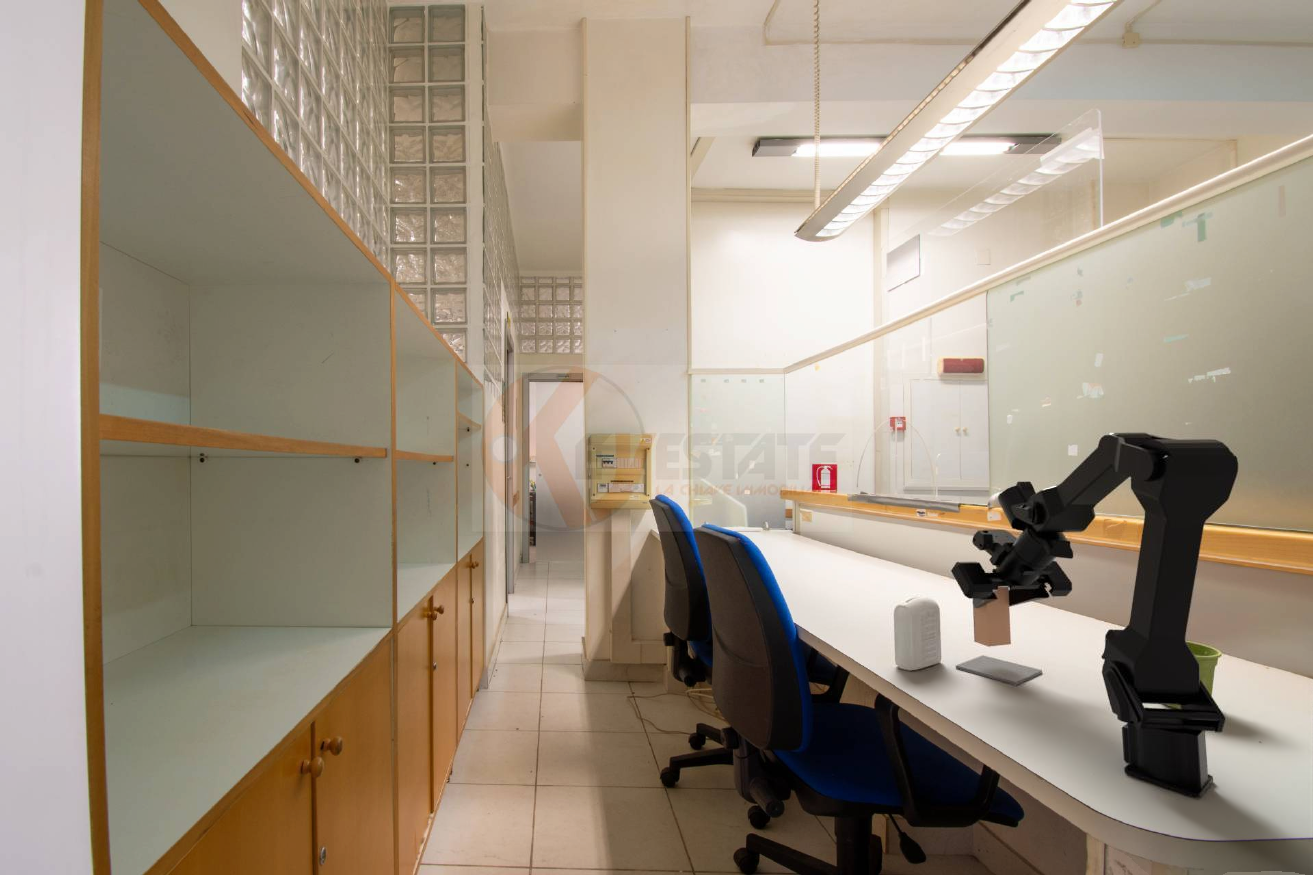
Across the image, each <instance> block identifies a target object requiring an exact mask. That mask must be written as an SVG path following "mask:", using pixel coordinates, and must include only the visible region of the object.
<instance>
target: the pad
mask: <svg viewBox="0 0 1313 875" xmlns="http://www.w3.org/2000/svg"><path fill="white" fill-rule="evenodd" d="M955 669H957V670H961V671H964V672H967V673H972V674H974V675H978V676H981V677H986V678H989V679H993V680H996V681H1000V682H1004V683H1008V684H1011V685H1014V686H1017V685H1020V684H1023V683H1024V682H1026V681H1028V680H1031V679H1033V678H1035V677H1037V676H1039V675H1041V674H1042V673H1043V670H1042V669H1039V668H1035V667H1030V666H1027V665H1023V664H1018V663H1017V662H1015V663H1014V662H1012V661H1007V660H1003V659H1000V658H999V659H998V658H995V657H991V656H987V655H980V656H977V657H974V658H972V659H969V660H967V661H964V662H962V663H959V664H957V665H955Z"/></svg>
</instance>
